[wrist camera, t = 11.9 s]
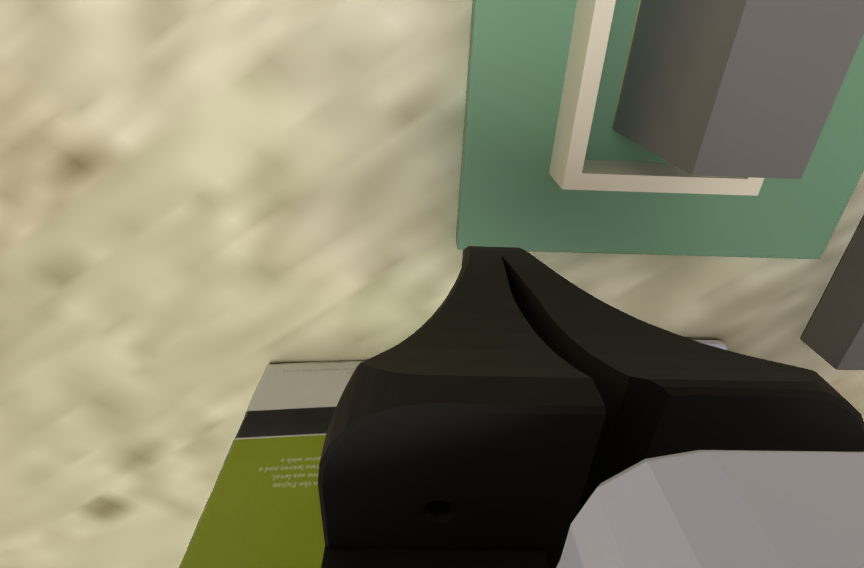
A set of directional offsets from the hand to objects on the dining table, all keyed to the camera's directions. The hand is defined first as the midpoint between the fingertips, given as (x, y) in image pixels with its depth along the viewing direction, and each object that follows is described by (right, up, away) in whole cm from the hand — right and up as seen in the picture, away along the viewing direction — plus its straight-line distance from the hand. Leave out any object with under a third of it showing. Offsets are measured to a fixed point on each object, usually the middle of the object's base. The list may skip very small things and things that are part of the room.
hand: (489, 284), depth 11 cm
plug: (+7, +8, +5) cm, 12 cm away
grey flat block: (+22, +1, +10) cm, 24 cm away
